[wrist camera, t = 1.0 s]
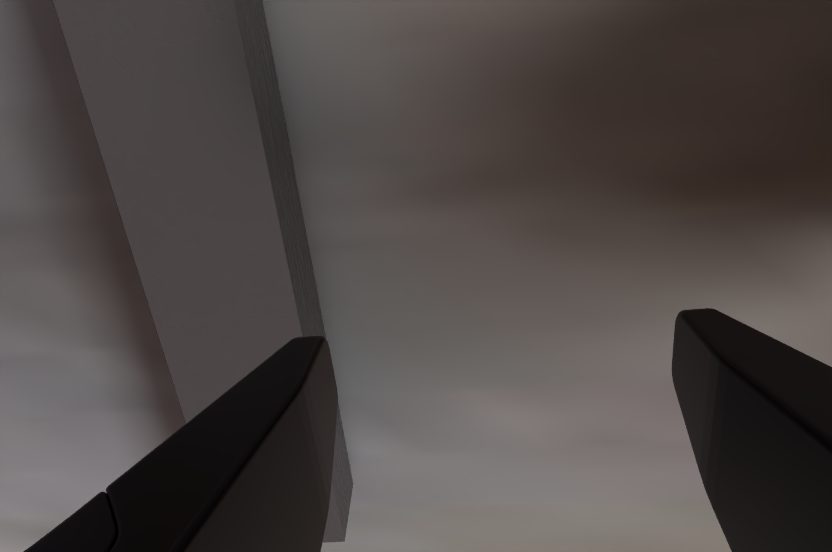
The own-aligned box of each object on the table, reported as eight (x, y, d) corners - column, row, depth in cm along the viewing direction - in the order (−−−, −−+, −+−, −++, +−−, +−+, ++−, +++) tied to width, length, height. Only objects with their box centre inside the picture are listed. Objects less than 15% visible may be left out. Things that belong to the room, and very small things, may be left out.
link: (-45, -363, 15) (-145, -417, 12) (235, -405, 15) (191, -470, 12) (217, 491, 26) (192, 555, 24) (380, 482, 26) (374, 547, 23)
